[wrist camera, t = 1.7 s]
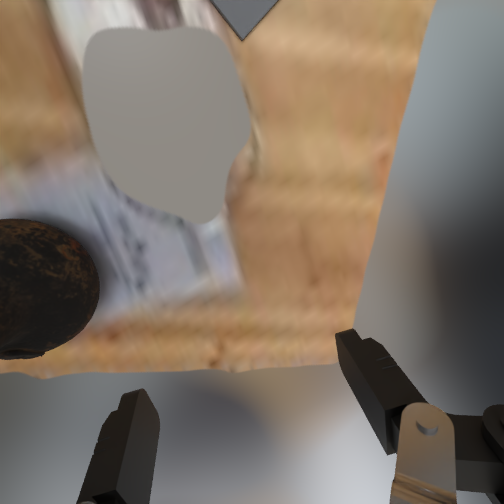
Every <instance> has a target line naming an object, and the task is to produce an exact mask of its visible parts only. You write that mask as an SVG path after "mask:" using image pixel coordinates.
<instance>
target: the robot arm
mask: <svg viewBox="0 0 504 504" xmlns="http://www.w3.org/2000/svg"><path fill="white" fill-rule="evenodd" d="M335 338H336V345H337V352H338V359H339V364H340V367H341V370H342V372H343V374H344V376H345V378H346V380H347V382H348V384H349V386H350V387H351V389H352V391H353V393H354V395H355V397H356V399H357V400H358V402H359V404H360V406H361V408H362V409H363V411H364V413H365V415H366V417H367V419H368V421H369V423H370V424H371V426H372V428H373V430H374V432H375V434H376V436H377V437H378V439H379V441H380V443H381V445H382V447H383V448H384V450H385V452H386V454H387V455H390V454H393V453H396V454H397V461H396V469H395V477H394V480H393V482H392V488H391V495H390V504H457V499H456V490H460V491H471V492H481V493H486V495H487V496H488V498H489V499H490V501H491V502H492V504H504V405H492V406H490V407H488V408H487V409H486V410H485V411H484V413H483V416H467V415H453V414H448V413H445V412H443V411H442V410H441V409H439V408H437V407H435V406H433V405H430V404H429V403H428V402H427V401H426V400H425V399H424V398H423V396H422V395H421V394H420V393H419V392H418V390H417V389H416V387H415V386H414V385H413V384H412V382H411V381H410V380H409V379H408V377H407V376H406V375H405V373H404V372H403V371H402V370H401V368H400V367H399V366H398V365H397V363H396V362H395V361H394V359H393V358H392V357H391V356H390V354H389V353H388V352H387V350H386V349H385V348H384V347H383V345H382V344H380V343H378V342H377V341H375V340H374V339H372V338H367V339H364V340H362V339H361V338H360V336H359V335H358V334H357V332H356V331H355V330H354V329H349V330H346V331H342V332H339V333H336V334H335ZM159 431H160V419H159V415H158V412H157V410H156V409H155V407H154V405H153V403H152V402H151V400H150V398H149V396H148V394H147V392H146V391H145V390H144V389H139V390H135V391H132V392H129V393H125V394H123V395H122V397H121V400H120V403H119V407H118V410H116V411H113V412H111V413H110V415H109V416H108V418H107V419H106V421H105V423H104V424H103V425H102V428H101V431H100V434H99V437H98V443H96V446H95V449H94V455H92V458H91V461H90V464H89V467H88V470H87V473H86V476H85V479H84V482H83V485H82V488H81V491H80V495H79V497H78V500H77V503H76V504H149V501H150V494H151V487H152V480H153V473H154V466H155V459H156V453H157V445H158V439H159Z"/></svg>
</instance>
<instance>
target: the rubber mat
mask: <svg viewBox="0 0 504 504" xmlns="http://www.w3.org/2000/svg"><path fill="white" fill-rule="evenodd" d="M210 1H211V2H212V4H213V5H214V6H215V7H216V9H217V10H218V11H219V13H220V14H221V15H222V16H223V18H224V19H225V20H226V22H227V23H228V24H229V25H230V27H231V28H232V29H233V31H234V32H235V33H236V34H237V36H238V37H239V38H240V40H241V41H242V40H243V39H244V38H245V37H246V36H247V35H248V34H249V33H250V32H251V30H252V29H253V28H254V27H255V26H256V25H257V24H258V23H259V21H260V20H261V19H262V18H263V17H264V16H265V15H266V14H267V12H268V11H269V10H270V9H271V8H272V7H273V6H274V5H275V3H276V2H277V1H278V0H210Z"/></svg>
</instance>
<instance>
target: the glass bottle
mask: <svg viewBox="0 0 504 504" xmlns="http://www.w3.org/2000/svg"><path fill="white" fill-rule="evenodd" d="M99 291H100V284H99V277H98V273H97V269H96V267H95V264H94V262H93V260H92V259H91V257H90V255H89V254H88V252H87V251H86V250H85V249H84V248H83V247H82V245H80V244H79V243H78V242H77V241H76V240H75V239H74V238H72V237H71V236H69V235H68V234H66V233H65V232H63V231H61V230H59V229H57V228H55V227H52V226H50V225H47V224H44V223H41V222H36V221H31V220H25V219H0V359H4V360H11V359H32V358H35V357H39V356H41V357H42V355H44V354H45V352H46V351H49V350H52V349H54V348H56V347H58V346H60V345H62V344H64V343H66V342H67V341H69V340H71V339H72V338H74V337H75V336H76V335H77V334H78V333H80V332H81V331H82V330H83V329H84V328H85V326H86V325H87V323H88V322H89V321H90V319H91V318H92V316H93V314H94V312H95V309H96V307H97V303H98V299H99Z"/></svg>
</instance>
